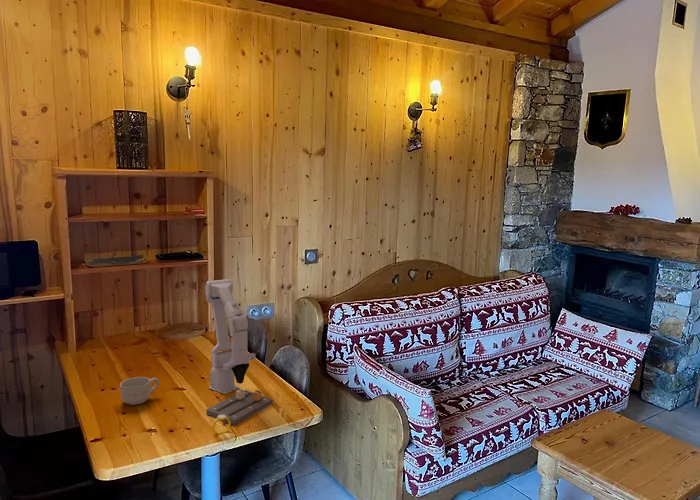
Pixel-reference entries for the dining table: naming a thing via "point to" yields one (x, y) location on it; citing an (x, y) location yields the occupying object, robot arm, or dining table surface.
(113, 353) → the dining table surface
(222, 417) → the watch
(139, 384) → the teacup
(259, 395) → the fader orange
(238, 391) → the fader ivory
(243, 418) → the fader panel
